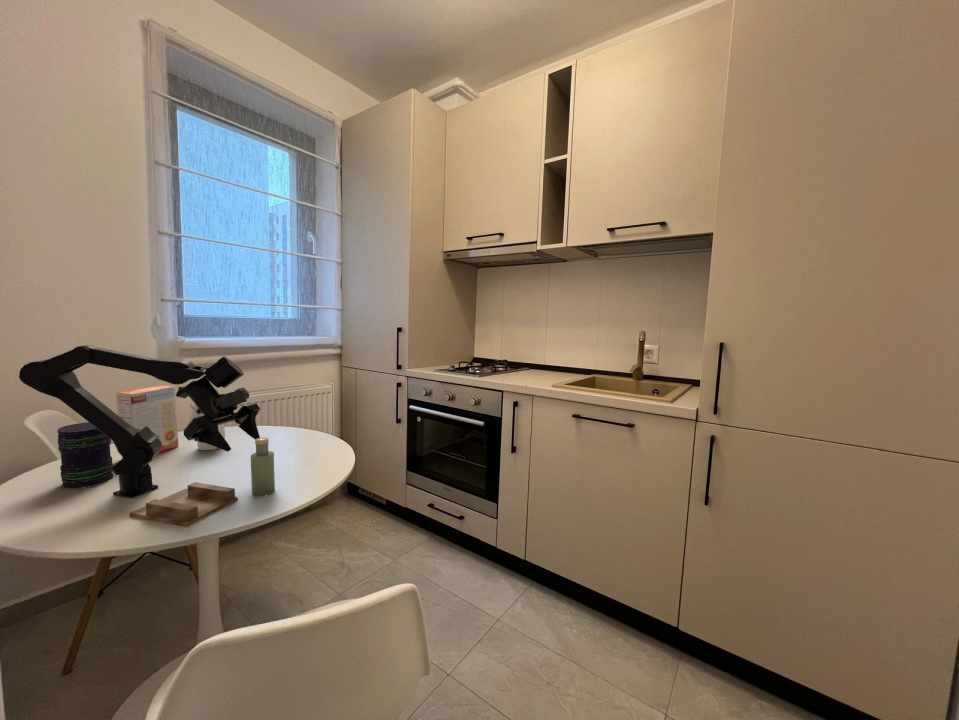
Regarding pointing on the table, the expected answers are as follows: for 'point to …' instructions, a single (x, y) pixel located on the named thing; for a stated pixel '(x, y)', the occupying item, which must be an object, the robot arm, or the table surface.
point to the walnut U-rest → (187, 504)
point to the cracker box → (151, 412)
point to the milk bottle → (206, 446)
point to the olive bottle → (262, 469)
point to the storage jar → (84, 456)
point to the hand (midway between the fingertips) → (244, 444)
